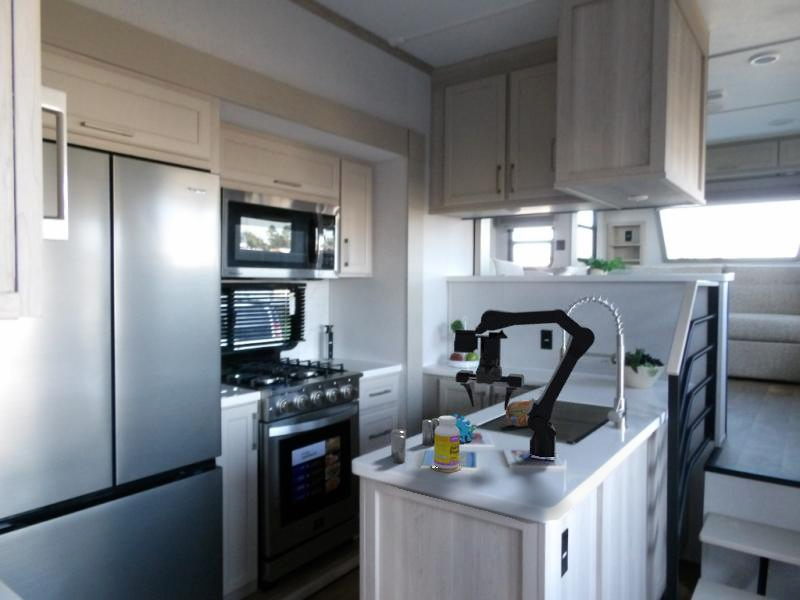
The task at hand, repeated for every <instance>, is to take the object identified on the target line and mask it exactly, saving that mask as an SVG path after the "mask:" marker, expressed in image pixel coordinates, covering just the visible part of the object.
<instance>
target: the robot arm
mask: <svg viewBox="0 0 800 600" xmlns="http://www.w3.org/2000/svg"><path fill="white" fill-rule="evenodd" d="M545 324H557V325H558V326H559V327H560V328H561V329H563V330H564V331H565V332H566V333H567V334H568V335H569V336H568V338H567V342H566V345H565V349H564V353H563V355H562V356H561V359H560V360H559V362H558V364H557V366H556V367H555V370H554V372H553V373H552V375H551V377H550V379H549V381H548V383H547V384H546V386H545V388H544V389H543V391H542V393H541V395H540V397H538V398H537V399H534V398H533V397H532V398H531V399H530V400H531V402H530V405H529V407H528V408H527V409H526V419H527V424H528V425H527V426H528V427H529V429H530V430H531V431H532V432H533V433H532V435H531V438H530V439H529V455H531V454H532V455H535V456H539V457H555V454H556V455H557V452H556V450H557V449H556V447H557V446H556V443H557V440H556V439H557V432H556V428H555V426H554V424H553V423H552V422H551V418H552V414H553V410H554V406H555V403H556V401H557V400H558V398H559V395H560V393H562V390H563V388H564V386H565V385H566V383H567V381H568V379H569V378H570V376H571V374H572V372H573V370H574V368H575V367H576V365H577V363H578V361H579V360H580V359H581V358H582V357H583V356H584V355H585V354H586V353H587V352H588V351H589V349H590V348H591V347H592V346H593V344H594V343H595V339H596V337H595V333H594V332H593V330H592V329H590V328H589V327H587V326H585V325H582V324H581V325H580V324H579V323H578V322H576V320H574V319H573V318H571V317H570V316H569V315H568V314H567V312H566V311H565V310H563V309H561V308H554V309H544V310H543V309H542V310H527V311H526V310H525V311H508V310H502V309H493V308H491V309H487V310H485V311H483V313H482V314H481V317H480V322H479V323H478V325H477V326H475V329H462V328H456V329H455V331H454V332H455V333H454V341H453V353H456V354H474V353H475V352H476V351H478V350H479V355H480V356H479V362H478V366H477V369H476V370H475V373H474V370H468V369H467V370H464V369H461V370H460V371H458V372H456V374H455V383H459V384H460V386H463V387H464V389H465V390H466V392H467V394H468V398H469V401H470V403H471V404H470V405H471V407H472V408H475V405H476V395H475V390H476V389H475V382H476V384H479V385H481V384H485V385H486V384H487V385H493V384H494V383H502V384H504V383H505V384H507V386H506V387H505V397H504V403H503V404H504V405H503V407H504V408H503V409H504V411H506V409H507V407H508V405H509V404H510V401H511V398H512V395H513V394H514V392H515V390H516V391H517V390H518V389H519V388H523V386H524V385H525V375H524V374H522V373H521V374H520V373H509V374H508V375H503V370H502V369H503V367H502V366H501V359H502V358H501V354H502V353H501V348H502V347H501V345H502V344H501V343H502V340H506V339H508V337H509V336H508V335H507V334H506V333H505V332H504V330H503V329H506V328H509V327H513V326H527V325H529V326H530V325H545ZM498 330H500V331H498ZM487 331H489V332H488V334H486V335H485V334H484V333H486V332H487ZM497 331H498V332H497ZM479 339H480V344H479ZM479 346H480V349H479ZM536 400H537V401H536ZM555 458H556V457H555Z"/></svg>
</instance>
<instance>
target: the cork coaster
mask: <svg viewBox="0 0 800 600" xmlns="http://www.w3.org/2000/svg"><path fill="white" fill-rule="evenodd" d="M431 470H433V471H435V472H439V473H456V472H459V471H461V470H462V465H461V464H460V466H458V467H457V468H454V469H441V468H436V467H435V468H431Z"/></svg>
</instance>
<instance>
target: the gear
mask: <svg viewBox="0 0 800 600" xmlns="http://www.w3.org/2000/svg"><path fill="white" fill-rule="evenodd" d="M448 416H453V417H456V424H455V425H456V427H457V428H458V429H459V430H460V443H461V442H465V443H466V442H467V441H470V442H471V441H472V438H473V437H474V436H475V433H474V431H476V430H477V425H473V426H470V425H471V421H470V420H468V419H467V420H466V421H465V418H466V417H465V416H464V415H461V416H459V414H457V413H454V414H453V415H452V414H449V415H448ZM458 417H459V419H457V418H458ZM465 438H466V440H465Z"/></svg>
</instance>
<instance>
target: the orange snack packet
mask: <svg viewBox="0 0 800 600" xmlns="http://www.w3.org/2000/svg"><path fill="white" fill-rule="evenodd" d="M531 400H532V399H525V400H516V401H512V402H509V404H508V407H507V409H506V410H505V419H506V421H507V422H508V423H509V425H512V426H514V427H517V428H519V427H526V426H528V424H527V419H526V409H527V408H528V407H529V405H530V402H531ZM535 400H536V401H537V400H538V399H535Z"/></svg>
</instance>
